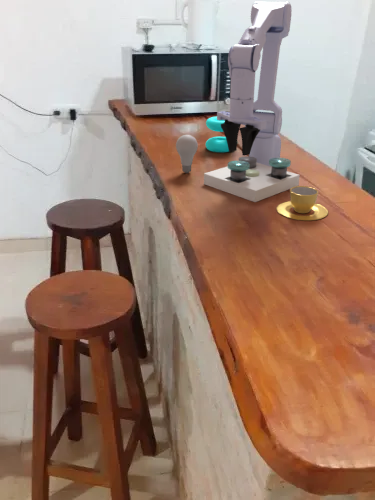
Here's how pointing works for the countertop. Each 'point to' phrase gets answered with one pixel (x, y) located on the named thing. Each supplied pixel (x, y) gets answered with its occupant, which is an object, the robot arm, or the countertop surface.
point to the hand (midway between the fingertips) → (239, 152)
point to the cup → (302, 204)
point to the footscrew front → (238, 170)
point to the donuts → (216, 142)
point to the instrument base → (251, 181)
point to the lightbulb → (186, 151)
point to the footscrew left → (279, 167)
